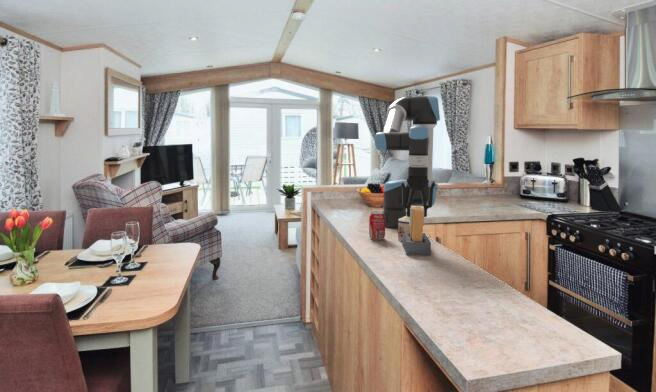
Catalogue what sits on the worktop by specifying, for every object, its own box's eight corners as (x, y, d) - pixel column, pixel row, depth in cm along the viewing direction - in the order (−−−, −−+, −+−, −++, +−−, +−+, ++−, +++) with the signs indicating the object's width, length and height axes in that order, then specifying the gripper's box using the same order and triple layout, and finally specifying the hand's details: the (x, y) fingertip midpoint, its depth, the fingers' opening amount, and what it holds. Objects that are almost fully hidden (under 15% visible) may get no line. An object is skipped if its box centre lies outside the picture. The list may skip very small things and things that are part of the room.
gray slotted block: (406, 255, 169) (406, 242, 169) (402, 244, 186) (402, 232, 186) (430, 255, 169) (430, 242, 168) (424, 244, 186) (424, 233, 185)
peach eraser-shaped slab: (412, 242, 171) (413, 210, 169) (409, 236, 183) (410, 206, 181) (423, 242, 171) (424, 211, 169) (419, 236, 183) (420, 206, 181)
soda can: (374, 236, 201) (375, 210, 200) (387, 238, 197) (388, 212, 195) (365, 239, 196) (366, 212, 194) (379, 241, 192) (379, 214, 190)
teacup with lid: (394, 238, 198) (395, 212, 197) (413, 237, 200) (414, 211, 199) (404, 244, 187) (405, 217, 185) (424, 243, 188) (425, 216, 187)
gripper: (396, 166, 170) (395, 226, 173) (441, 167, 169) (439, 227, 172) (395, 165, 177) (394, 222, 180) (438, 166, 176) (436, 223, 179)
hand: (416, 224), depth 176 cm, fingers closed on peach eraser-shaped slab, 4 cm apart
